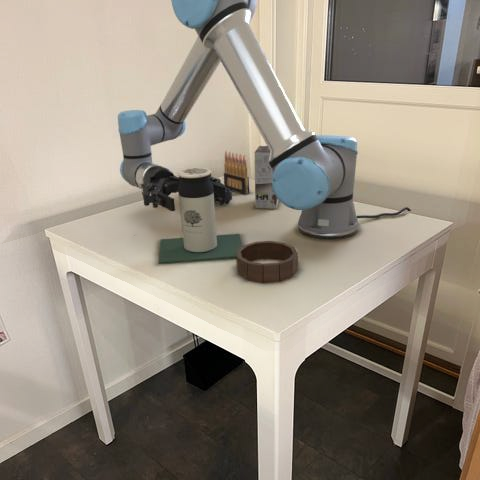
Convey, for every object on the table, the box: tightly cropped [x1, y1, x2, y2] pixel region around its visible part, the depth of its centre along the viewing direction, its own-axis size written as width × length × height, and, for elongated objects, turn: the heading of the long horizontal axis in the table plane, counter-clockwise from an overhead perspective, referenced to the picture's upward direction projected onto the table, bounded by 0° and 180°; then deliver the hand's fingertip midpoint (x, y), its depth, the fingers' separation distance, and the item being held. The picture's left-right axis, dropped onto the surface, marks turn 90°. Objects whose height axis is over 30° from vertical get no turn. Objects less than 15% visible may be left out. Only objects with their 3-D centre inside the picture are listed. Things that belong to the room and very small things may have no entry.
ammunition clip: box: [223, 150, 251, 195], centre depth 155 cm, size 11×2×12 cm, turn 41°
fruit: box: [210, 172, 234, 206], centre depth 146 cm, size 9×8×15 cm
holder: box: [235, 240, 299, 284], centre depth 105 cm, size 13×13×4 cm
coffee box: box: [254, 145, 280, 210], centre depth 140 cm, size 9×6×16 cm
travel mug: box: [177, 167, 217, 252], centre depth 112 cm, size 8×8×18 cm
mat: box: [158, 233, 243, 265], centre depth 117 cm, size 20×14×1 cm
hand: (199, 198), depth 110 cm, fingers open, 13 cm apart
